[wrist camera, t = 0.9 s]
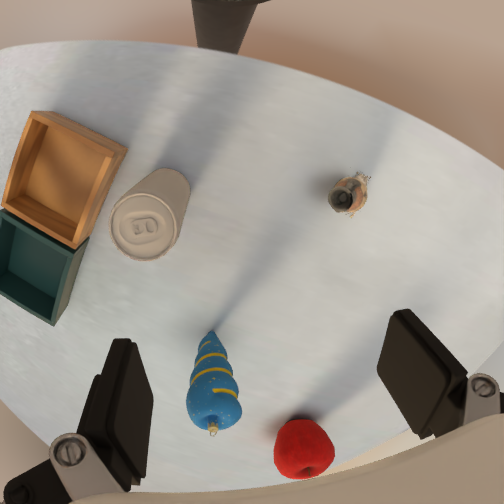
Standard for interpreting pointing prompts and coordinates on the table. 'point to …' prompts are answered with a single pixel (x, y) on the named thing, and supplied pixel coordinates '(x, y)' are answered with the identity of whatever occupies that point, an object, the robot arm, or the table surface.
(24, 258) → the can bin
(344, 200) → the vase
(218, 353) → the ornament
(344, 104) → the table surface
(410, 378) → the robot arm
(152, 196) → the beverage can
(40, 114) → the bin
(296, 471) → the apple
